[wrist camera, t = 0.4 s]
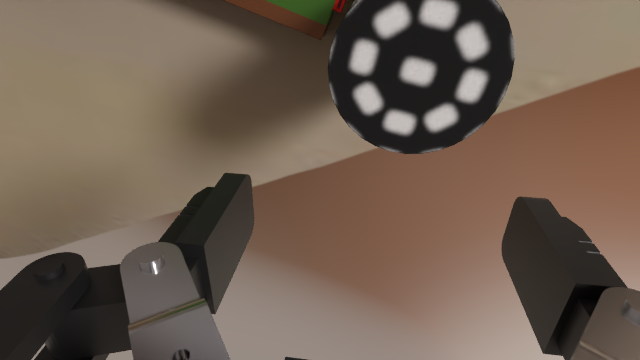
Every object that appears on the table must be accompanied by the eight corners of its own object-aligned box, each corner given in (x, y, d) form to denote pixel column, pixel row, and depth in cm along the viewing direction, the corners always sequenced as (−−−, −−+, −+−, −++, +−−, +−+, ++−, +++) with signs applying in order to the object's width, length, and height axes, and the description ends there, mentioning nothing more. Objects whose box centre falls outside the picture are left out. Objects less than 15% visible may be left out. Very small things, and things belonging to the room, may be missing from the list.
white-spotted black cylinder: (341, 53, 37) (311, 130, 20) (365, -44, 33) (354, -54, 16) (424, 75, 37) (467, 171, 20) (459, -19, 33) (551, -2, 16)
